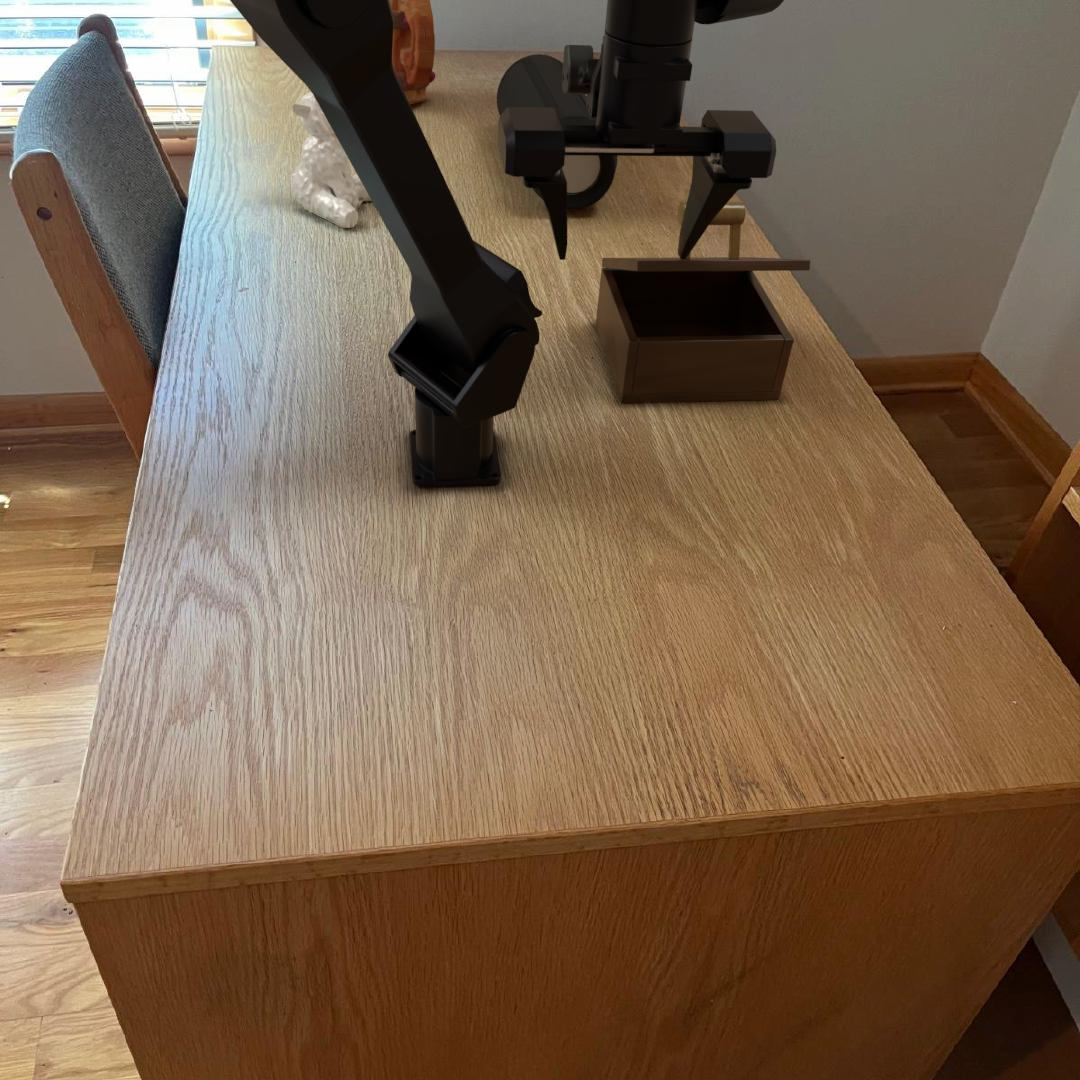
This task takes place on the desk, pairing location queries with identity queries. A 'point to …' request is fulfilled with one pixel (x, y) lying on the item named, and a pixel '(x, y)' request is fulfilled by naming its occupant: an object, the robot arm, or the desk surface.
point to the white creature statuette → (325, 170)
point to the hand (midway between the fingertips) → (621, 257)
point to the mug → (413, 46)
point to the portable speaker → (542, 88)
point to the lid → (727, 216)
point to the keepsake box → (691, 336)
